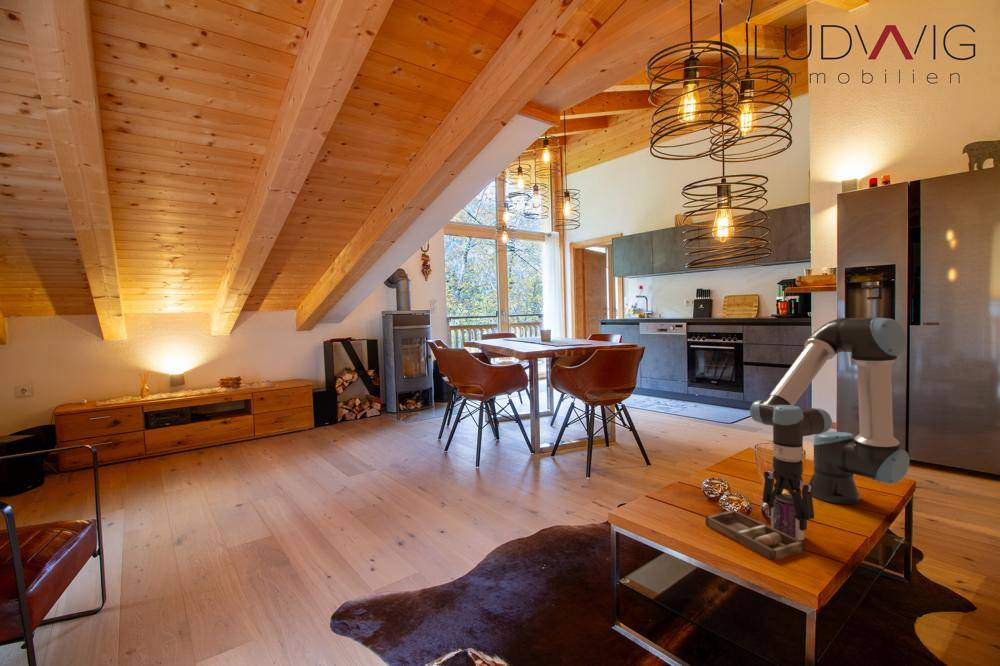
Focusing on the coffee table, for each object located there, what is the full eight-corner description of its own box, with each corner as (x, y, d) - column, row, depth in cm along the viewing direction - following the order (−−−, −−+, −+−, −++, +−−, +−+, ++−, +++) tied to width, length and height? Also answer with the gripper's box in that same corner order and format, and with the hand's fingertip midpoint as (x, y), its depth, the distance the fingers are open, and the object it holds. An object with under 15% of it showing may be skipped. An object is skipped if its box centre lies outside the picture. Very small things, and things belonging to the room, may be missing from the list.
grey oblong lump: (772, 541, 133) (771, 530, 133) (782, 544, 130) (781, 534, 130) (755, 546, 130) (754, 535, 130) (764, 550, 127) (763, 539, 128)
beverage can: (775, 529, 142) (775, 491, 141) (802, 536, 137) (803, 496, 137) (771, 538, 136) (771, 499, 136) (799, 545, 132) (800, 505, 131)
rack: (733, 520, 148) (733, 510, 148) (803, 554, 127) (804, 542, 127) (705, 527, 144) (705, 516, 144) (773, 564, 122) (773, 551, 122)
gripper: (748, 450, 143) (748, 522, 144) (812, 470, 125) (812, 552, 126) (765, 447, 146) (765, 518, 147) (830, 466, 128) (830, 546, 129)
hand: (787, 533), depth 137 cm, fingers closed on beverage can, 7 cm apart
